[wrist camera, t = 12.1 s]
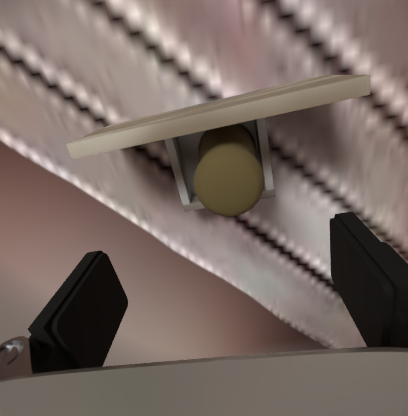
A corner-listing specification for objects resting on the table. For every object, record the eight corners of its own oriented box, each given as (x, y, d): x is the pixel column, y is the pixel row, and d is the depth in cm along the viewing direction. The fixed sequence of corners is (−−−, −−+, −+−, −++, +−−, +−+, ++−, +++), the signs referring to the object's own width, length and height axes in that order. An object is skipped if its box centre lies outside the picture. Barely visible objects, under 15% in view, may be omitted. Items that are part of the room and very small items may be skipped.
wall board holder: (109, 125, 29) (66, 144, 21) (323, 75, 25) (370, 74, 17) (139, 207, 33) (113, 250, 25) (325, 173, 29) (364, 210, 21)
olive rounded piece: (258, 173, 29) (277, 223, 19) (203, 181, 30) (195, 234, 20) (252, 115, 26) (270, 139, 16) (192, 126, 27) (176, 155, 17)
